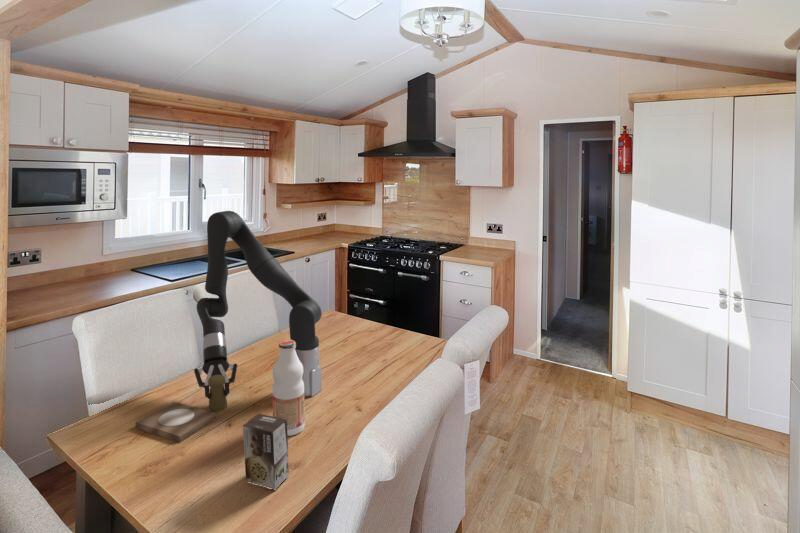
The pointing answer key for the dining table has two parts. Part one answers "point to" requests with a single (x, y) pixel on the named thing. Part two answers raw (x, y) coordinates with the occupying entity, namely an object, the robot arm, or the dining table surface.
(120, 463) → the dining table surface
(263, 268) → the robot arm
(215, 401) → the cork
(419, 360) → the dining table surface
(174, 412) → the walnut board
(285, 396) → the fruit juice
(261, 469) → the coffee box
